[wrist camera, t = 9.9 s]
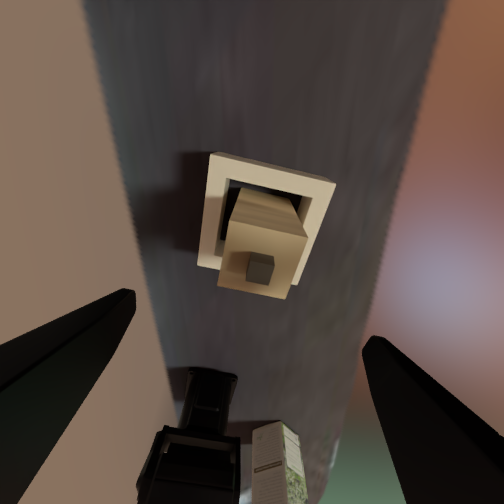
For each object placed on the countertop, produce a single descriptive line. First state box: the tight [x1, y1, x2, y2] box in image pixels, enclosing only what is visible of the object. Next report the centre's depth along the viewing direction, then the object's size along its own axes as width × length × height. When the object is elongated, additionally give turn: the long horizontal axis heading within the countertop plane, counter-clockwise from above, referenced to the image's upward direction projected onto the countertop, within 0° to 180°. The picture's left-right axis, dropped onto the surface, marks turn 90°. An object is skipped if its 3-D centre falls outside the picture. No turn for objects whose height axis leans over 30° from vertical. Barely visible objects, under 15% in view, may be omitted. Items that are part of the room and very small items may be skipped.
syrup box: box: [252, 421, 308, 504], centre depth 29 cm, size 6×6×14 cm
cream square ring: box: [197, 152, 336, 285], centre depth 17 cm, size 8×8×3 cm
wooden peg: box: [217, 188, 308, 299], centre depth 15 cm, size 4×4×9 cm
